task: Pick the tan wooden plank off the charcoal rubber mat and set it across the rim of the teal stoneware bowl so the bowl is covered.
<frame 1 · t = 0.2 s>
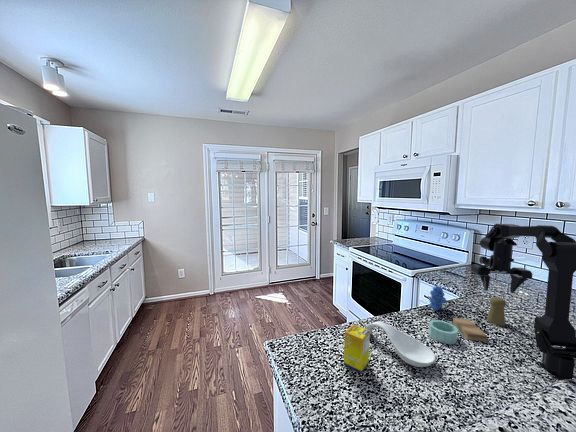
hand: (498, 291, 100), 14 cm above the countertop, fingers open, 9 cm apart
spoon rest: (395, 351, 83), on the countertop
tan wooden plank: (468, 331, 95), point 1 cm above the countertop, touching mat
olive brown pear: (495, 323, 102), on the countertop
bowl: (442, 337, 91), on the countertop
grapes: (437, 311, 112), on the countertop
supplement box: (356, 364, 76), on the countertop
mat: (468, 333, 95), on the countertop
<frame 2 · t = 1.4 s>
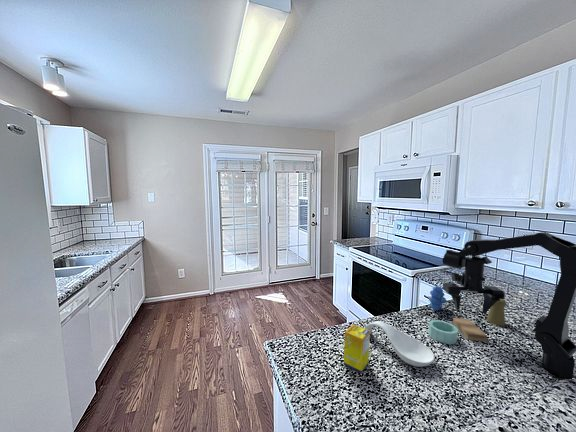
hand: (470, 311, 94), 9 cm above the countertop, fingers open, 9 cm apart
nothing on the countertop moved.
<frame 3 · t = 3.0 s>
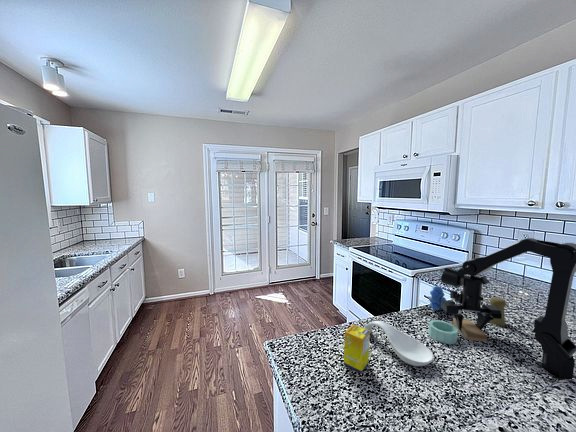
hand: (468, 330, 94), 1 cm above the countertop, fingers closed on tan wooden plank, 6 cm apart
tan wooden plank: (468, 331, 95), point 1 cm above the countertop, touching gripper, mat
everything else where it was.
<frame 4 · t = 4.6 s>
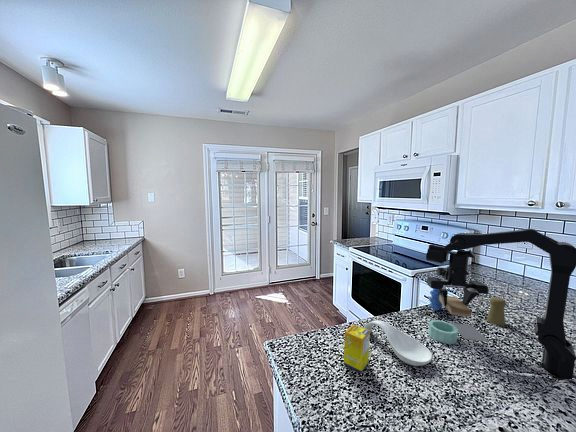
hand: (453, 306, 92), 11 cm above the countertop, fingers closed on tan wooden plank, 6 cm apart
tan wooden plank: (453, 308, 92), point 11 cm above the countertop, touching gripper
everything else where it was.
when the fingers open (6 cm above the countertop, at t = 6.6 s): tan wooden plank stays where it is, resting on bowl.
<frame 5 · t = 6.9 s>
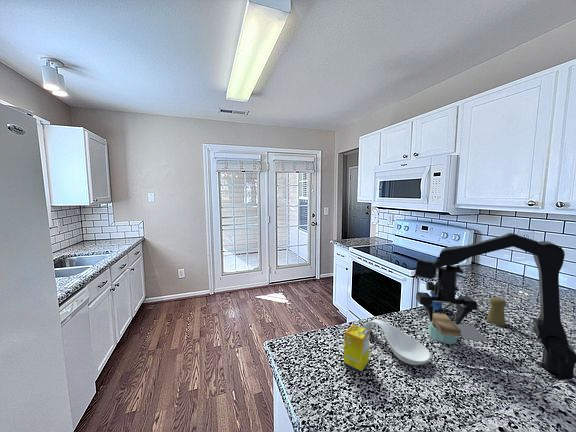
hand: (443, 322, 90), 6 cm above the countertop, fingers open, 9 cm apart
tan wooden plank: (443, 326, 91), point 4 cm above the countertop, touching bowl
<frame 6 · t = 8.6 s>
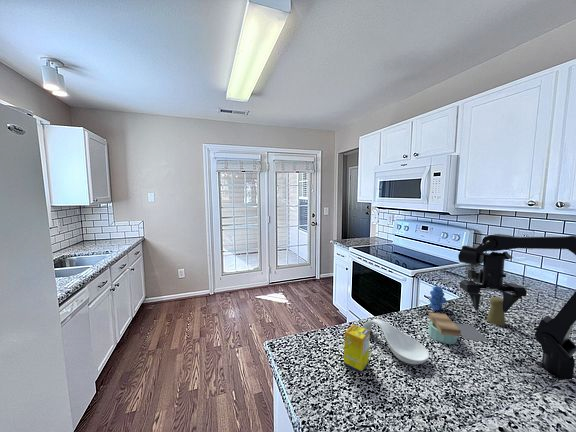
hand: (490, 310, 88), 12 cm above the countertop, fingers open, 9 cm apart
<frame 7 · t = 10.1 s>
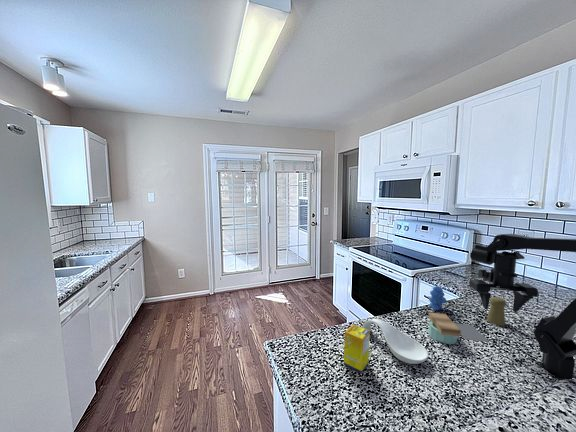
hand: (500, 310, 88), 12 cm above the countertop, fingers open, 9 cm apart
at the end: tan wooden plank 0.1 cm off-centre on the bowl, point 4.5 cm above the bowl's base; tan wooden plank tilted 0°; the gripper is holding nothing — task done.
